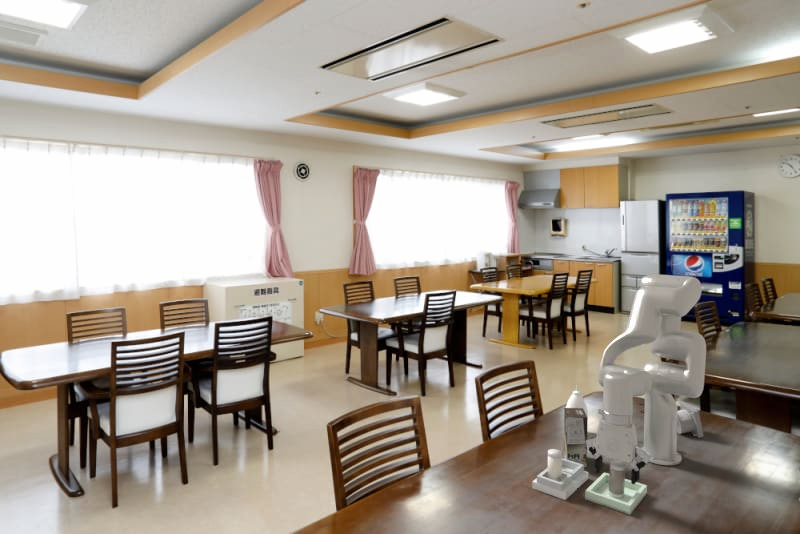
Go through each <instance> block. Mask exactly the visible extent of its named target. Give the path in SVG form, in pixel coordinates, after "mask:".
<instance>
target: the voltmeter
mask: <svg viewBox="0 0 800 534" xmlns="http://www.w3.org/2000/svg"><path fill="white" fill-rule="evenodd" d="M639 405H641V406H644V407H645V404H643V403H639ZM678 407H679V408H680V410H677V434H679V435H681V434H685V433H691V434H693V436H694V437H697V438H698V439H701V438H704V431H703V427H702V425H703V424H702V422H701V415H700V412H699V410H697V409H696V408H694V407H693V406H691V405H690V404H688V403H686V402H684V401H682V402H680V401H679V403H678V405H677V408H678ZM640 413H643V414H644V413H645V411H643V410H640Z"/></svg>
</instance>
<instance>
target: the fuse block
mask: <svg viewBox="0 0 800 534" xmlns="http://www.w3.org/2000/svg"><path fill="white" fill-rule="evenodd" d="M588 479H589V471H586V470H585V467H584V465H583V464H579V463H576V462H573V461H570V460H566V459H565V458H563V452H562V450H560V449H556V448H551V449H548V450H547V467H546V468H545V469H544V470H543V471H541V472H539V474H537V475H536V478H535V479H533V480H532V486H531V487H532V489H533V490H536V491H539V492H541V493H545V494H548V495H551V496H553V497H555V498H558V499H561V500H563V501H566V500H567V499H568V498H569V497H570V496H571V495H573V494H574V493H575V491H577V490H578V489H579V488H580V487H581V486H582V485H583V484H584V483H585V482H586V481H588ZM577 488H578V489H577Z"/></svg>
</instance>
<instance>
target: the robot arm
mask: <svg viewBox="0 0 800 534" xmlns="http://www.w3.org/2000/svg"><path fill="white" fill-rule="evenodd" d="M639 286H640V288H639V289H638V290H636V292H635V295H634V298H633V302H632V305H631V308H630V314H629V316H628V321H627V325H626V328H625V330H624V331H623V332H622V333H620V334H619V335H618V336H616V337H615V338H614V339H613V340H612V341H611V342H610V343H608V345H607V346H606V348H605V349H604V351H603V353H602V356H601V359H600V363H599V365H598V366H599V367H598V371H597V381H598V383H599V385H600V386H601V387H602V388H603V396H602V397H603V398H602V403H603V404H602V408H601V409H600V408H598V411H597V413H598V415H601V418H600V419H599V421H598V425H597V426H598V427H597V434H596V436H595V437H591V438H587V440H586V444H587V449H588V451H589V452H590V454H591V455H592V458H594V468H595V473H596V474H600V473H601V471H603V469H604V468H603V466H604V465H603V464H604V463H603V461H604V458H603V457H605V458H607V459H610V460H617V461H621V462H623V463H624V464H629V465H630V466H631V467H632V469H631V483H632V484H635V483H636V482H637V483H638V482H639V481H640V478H641V477H640V472H641V469H643V468H644V467H645V466H646V465H647V464H648V463H652V464H656V465H660V466H675V465H679V464H681V463H682V459H683V458H682V455H681V454H680V453H679V452H678V451H677V446H678V445H677V441H678V440H677V439H678V438H677V436H678V435H677V434H678V433H677V411H678V407H677V402H676V400H675V398H674V397H673V395H676V396H679V397H680V396H681V397H685V398H692V399H696V398H699V397H700V396H701V395H702V393H703V391H704V386H705V375H706V374H705V373H706V361H707V359H706V358H707V344H706V343H707V342H706V339H705V337H704V336H703V335H702V334H700V333H698V332H696V331H695V332H694V331H688V330H682V328H681V326H682V325H681V323H682V317H684V316H686V315H687V314H688V313H689V312H690V310H692V308H693V307H695V305H696V304H697V303H698V302H699V300H700V299H701V296H702V290H703V289H702V284H701V282H700V280H699V279H698V278H696V277H694V276H689V275H688V276H687V275H671V274H647V275H645V276H643V277H642V278H641V279H640V284H639ZM648 344H649V350H650V353H651V354H652V355H653V356H655V357H659V358H662V359H663V358H664V359H668V360H674V361H682V362H685V365H684V364H683V365H682V364H677V363H672V362H665V361H659V360H656V361H655V360H654V361H653V360H652V361H648V362H647V363H645V364H644V365H643V367H642V369H641V368H636V367H633V366H626V365H623V364H617V363H616V361H617V359H618V358H619V356H620V355H622V354H623V353H624V352H627V351H628V350H630V349H634V348H637V347H641V346H643V345H648ZM641 396H644V405H645V406H644V412H645V413H643V414H644V418H643V421H644V422H643V423H644V424H643V446H642V447H639V446H638V435H637V430H636V425H635V423H633V409H634V407H633V406H634V405H633V404H634V401H633V400H634V399H633V398H636V397H641ZM594 444H595V446H594ZM638 456H639V457H640V458H642V460H641V461H639V459H638V458H637V457H638Z"/></svg>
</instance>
